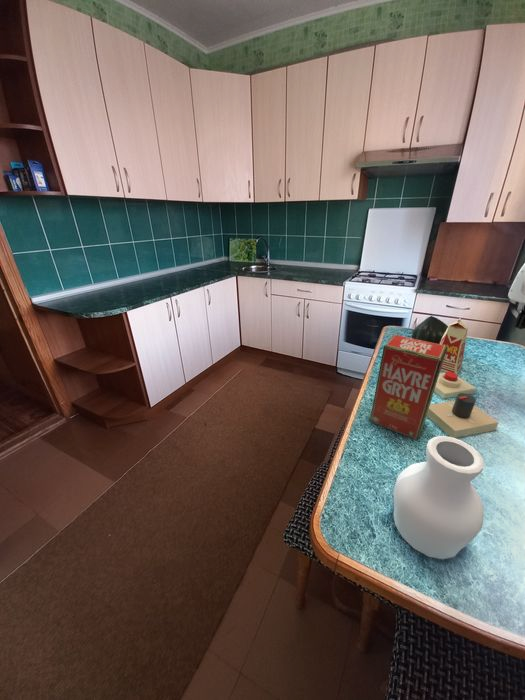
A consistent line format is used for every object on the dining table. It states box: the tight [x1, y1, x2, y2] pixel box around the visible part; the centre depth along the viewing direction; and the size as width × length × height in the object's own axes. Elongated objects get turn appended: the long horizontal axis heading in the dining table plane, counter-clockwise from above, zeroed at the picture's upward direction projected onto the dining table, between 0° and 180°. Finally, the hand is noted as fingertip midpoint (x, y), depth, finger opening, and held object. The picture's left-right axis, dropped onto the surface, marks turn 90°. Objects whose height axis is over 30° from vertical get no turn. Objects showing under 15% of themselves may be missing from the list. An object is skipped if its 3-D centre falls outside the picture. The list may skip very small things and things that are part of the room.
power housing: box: [434, 372, 477, 400], centre depth 97 cm, size 12×10×4 cm
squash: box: [411, 315, 449, 344], centre depth 121 cm, size 14×15×15 cm
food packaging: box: [369, 334, 447, 441], centre depth 78 cm, size 13×9×25 cm
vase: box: [392, 435, 485, 560], centre depth 52 cm, size 14×14×20 cm
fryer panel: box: [426, 400, 500, 439], centre depth 83 cm, size 14×11×3 cm
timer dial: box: [452, 393, 477, 418], centre depth 81 cm, size 4×4×6 cm
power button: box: [444, 372, 459, 382], centre depth 96 cm, size 4×4×2 cm
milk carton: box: [440, 317, 469, 375], centre depth 106 cm, size 9×9×20 cm
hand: (521, 327), depth 81 cm, fingers closed
